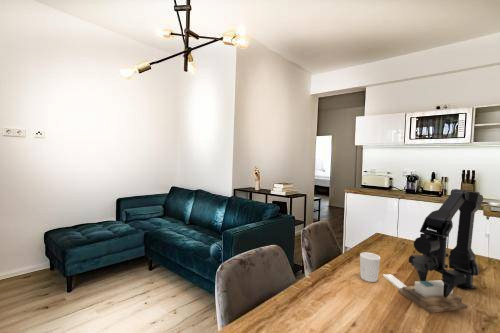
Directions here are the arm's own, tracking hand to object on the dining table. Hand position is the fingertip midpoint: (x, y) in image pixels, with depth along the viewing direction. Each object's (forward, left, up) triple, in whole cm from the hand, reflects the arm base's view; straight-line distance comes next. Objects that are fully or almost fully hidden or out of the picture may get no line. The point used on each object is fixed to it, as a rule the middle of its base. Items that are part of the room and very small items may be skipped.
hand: (433, 290), depth 99 cm
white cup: (+13, -19, -4) cm, 23 cm away
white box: (0, 0, -2) cm, 2 cm away
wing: (+4, -14, -4) cm, 15 cm away
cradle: (+1, 0, -3) cm, 4 cm away
